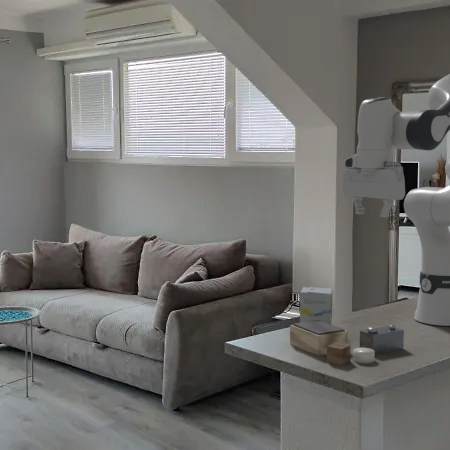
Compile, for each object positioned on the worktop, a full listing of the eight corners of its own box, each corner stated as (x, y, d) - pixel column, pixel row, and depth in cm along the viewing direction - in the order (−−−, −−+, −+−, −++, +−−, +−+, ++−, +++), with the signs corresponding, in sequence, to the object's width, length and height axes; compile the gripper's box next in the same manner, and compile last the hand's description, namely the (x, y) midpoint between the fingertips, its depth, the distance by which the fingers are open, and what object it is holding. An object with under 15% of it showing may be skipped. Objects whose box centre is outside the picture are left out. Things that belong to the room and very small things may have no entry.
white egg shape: (364, 356, 169) (365, 346, 169) (378, 362, 165) (379, 351, 165) (348, 359, 167) (348, 349, 167) (362, 365, 163) (362, 354, 162)
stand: (318, 339, 184) (318, 319, 184) (347, 350, 174) (347, 329, 173) (290, 344, 180) (290, 323, 179) (318, 356, 169) (318, 334, 169)
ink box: (330, 336, 187) (331, 293, 186) (298, 334, 189) (299, 291, 188) (332, 328, 196) (333, 286, 194) (301, 326, 197) (302, 285, 196)
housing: (389, 344, 180) (390, 322, 179) (403, 349, 176) (403, 326, 175) (359, 350, 175) (360, 326, 174) (372, 355, 171) (373, 331, 170)
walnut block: (335, 358, 168) (336, 342, 167) (350, 361, 165) (350, 345, 165) (326, 362, 165) (327, 345, 164) (341, 365, 162) (341, 349, 162)
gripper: (412, 162, 170) (410, 218, 171) (358, 161, 187) (356, 212, 189) (392, 161, 166) (390, 219, 168) (339, 160, 184) (337, 212, 186)
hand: (371, 215), depth 178 cm, fingers open, 8 cm apart
